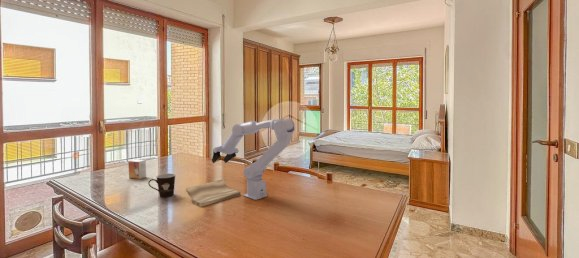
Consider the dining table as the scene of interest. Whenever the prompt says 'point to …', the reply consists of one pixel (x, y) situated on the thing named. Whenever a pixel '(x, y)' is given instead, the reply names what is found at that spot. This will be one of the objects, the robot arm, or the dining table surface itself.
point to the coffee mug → (165, 184)
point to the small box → (137, 169)
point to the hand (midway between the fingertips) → (218, 161)
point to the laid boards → (216, 197)
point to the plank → (206, 189)
